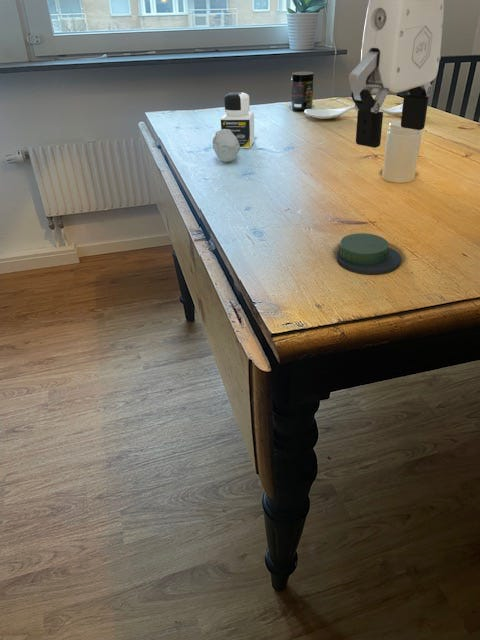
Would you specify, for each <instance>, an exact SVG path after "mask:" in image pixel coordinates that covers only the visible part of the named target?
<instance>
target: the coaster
mask: <svg viewBox="0 0 480 640" xmlns="http://www.w3.org/2000/svg"><path fill="white" fill-rule="evenodd" d="M388 248H389V250H388V255H387V258H386V259H385V261H383V262H381V263H378V264H374V265H358V264H353V263H349V262H347V261H345V260H344V259H342V258H341V257H340V255H339V250H338V251H337V253H336V262H337V263H338V264H339V266H341V267H342V268H343V269H346V270H347V271H350V272H352V273H356V274H361V275H372V276H373V275H375V276H376V275H384V274H389V273H391V272H394V271H395V270H397V269H399V267H400V265H401V262H402V257H401V254H400V253H399V252H398V251H397V250H396V249H393V248H392V247H390V246H388Z"/></svg>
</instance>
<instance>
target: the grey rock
mask: <svg viewBox="0 0 480 640" xmlns="http://www.w3.org/2000/svg"><path fill="white" fill-rule="evenodd" d="M239 147H240V145H239V142H238V140H237V137H236V136H235V135H234V134H233V133H232V132H231V130H229V129H221V128H220V130H216V131H215V135H214V137H213V138H212V149H213V150H214V153H215V155H216V157H217V158H218V159H219V160H220V161H222V162H224V163H230V162H233V161H234V160H235V159H236V158H237V156H238V154H239V152H240V148H239Z"/></svg>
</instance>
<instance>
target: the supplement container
mask: <svg viewBox="0 0 480 640" xmlns="http://www.w3.org/2000/svg"><path fill="white" fill-rule="evenodd" d="M314 79H315V72H313V71H295V72H291V97H290V98H291V99H290V100H291V101H290V102H291V103H290V104H291V105H290V107H291V110H292V111H293V112H298V113H299V112H300V113H301V112H303V113H305V109H313V107H314V106H313V103H314V81H315V80H314Z"/></svg>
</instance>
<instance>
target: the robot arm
mask: <svg viewBox="0 0 480 640" xmlns="http://www.w3.org/2000/svg"><path fill="white" fill-rule="evenodd" d="M444 5H445V0H368V4H367V10H366V14H365V15H366V16H365V20H364V21H365V22H364V29H363V36H362V43H361V53H360V62H359V63H358V64H357V65H356V66H355V67H354V68H353V69H352V71H351V72H349V75H348V83H349V88H350V91H351V94H350V95H351V96H350V97H351V100H352V101H353V103H354V105H355V109H354V110H355V111H356V112H357V116H356V117H357V118H356V130H355V143H356V145H358V146H363V147H369V148H373V149H376V148H379V147H380V146H381V141H382V140H381V139H382V132H383V131H382V128H383V121H384V120H383V119H384V112H383V111H381V110H380V108H381V107H383V104H384V102H385V100H386V98H387V95H388V94H389V92H391V93H393V94H394V93H402V92H407V94H403V99H402V100H403V101H402V104H403V109H402V114H401V118H400V120H401V127H403V128H408V129H415V130H420V131H422V130H424V129H425V126H426V119H427V113H428V104H429V98H430V95H431V94H432V91H433V87H432V85H433V83H434V81H435V80H436V78H437V75H438V72H439V66H440V61H441V59H442V53H441V50H442V39H443V25H444V8H445V7H444ZM371 93H374V94H375V97H373V95H372V94H371Z"/></svg>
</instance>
